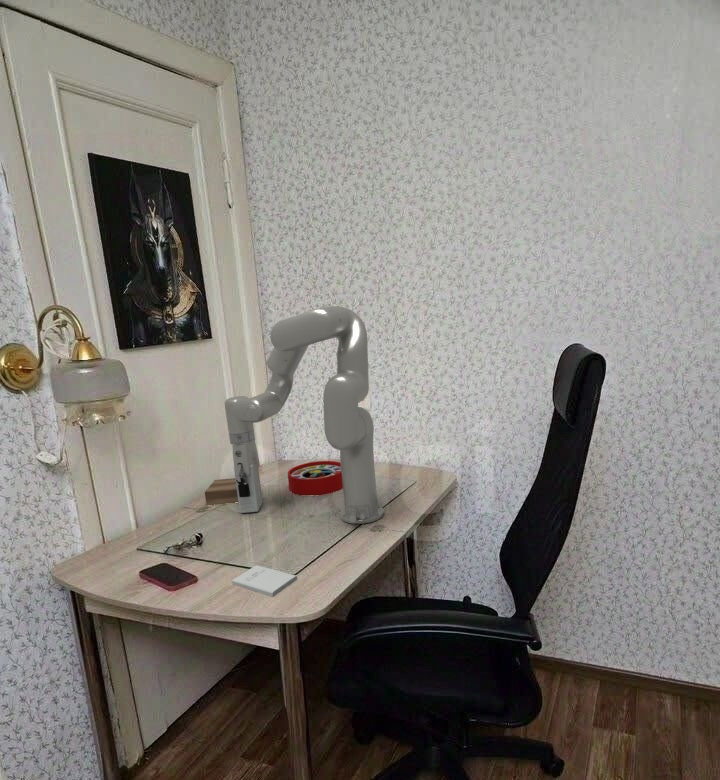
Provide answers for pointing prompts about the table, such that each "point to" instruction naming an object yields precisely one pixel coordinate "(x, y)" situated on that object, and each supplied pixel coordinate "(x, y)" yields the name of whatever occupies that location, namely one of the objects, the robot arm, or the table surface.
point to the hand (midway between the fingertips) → (249, 491)
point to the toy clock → (315, 478)
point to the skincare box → (251, 492)
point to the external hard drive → (264, 580)
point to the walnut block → (222, 492)
